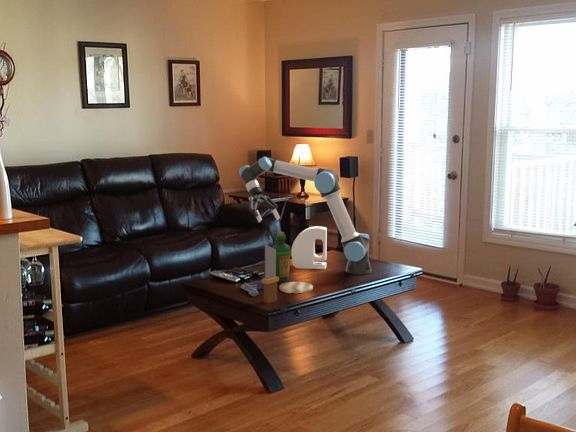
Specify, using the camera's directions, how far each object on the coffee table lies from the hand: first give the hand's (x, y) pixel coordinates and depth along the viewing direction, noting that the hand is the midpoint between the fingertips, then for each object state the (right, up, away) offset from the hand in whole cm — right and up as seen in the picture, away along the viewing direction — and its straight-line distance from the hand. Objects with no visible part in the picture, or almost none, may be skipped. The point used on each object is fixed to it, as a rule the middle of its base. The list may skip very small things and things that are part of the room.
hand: (269, 220), depth 373 cm
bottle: (+6, -35, -3) cm, 35 cm away
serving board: (+15, -37, -18) cm, 44 cm away
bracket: (+23, -29, +29) cm, 47 cm away
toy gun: (-6, -38, -22) cm, 45 cm away
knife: (+1, -41, -40) cm, 57 cm away
